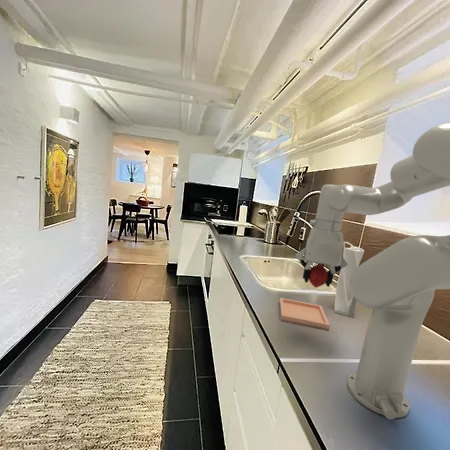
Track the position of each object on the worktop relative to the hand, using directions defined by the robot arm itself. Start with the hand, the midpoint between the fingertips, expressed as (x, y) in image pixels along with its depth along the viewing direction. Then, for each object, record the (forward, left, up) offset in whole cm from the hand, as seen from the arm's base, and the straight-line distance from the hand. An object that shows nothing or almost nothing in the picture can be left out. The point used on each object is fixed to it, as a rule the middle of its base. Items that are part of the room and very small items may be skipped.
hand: (316, 282), depth 83 cm
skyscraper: (+26, -17, -18) cm, 36 cm away
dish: (+14, 0, -18) cm, 22 cm away
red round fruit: (0, 0, -2) cm, 2 cm away
